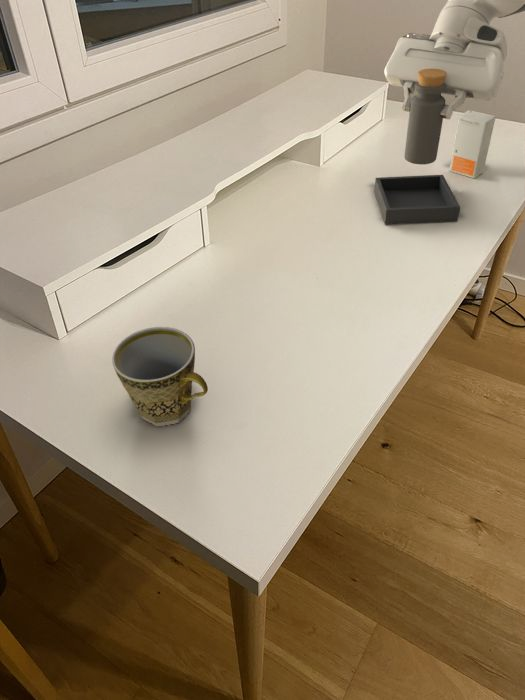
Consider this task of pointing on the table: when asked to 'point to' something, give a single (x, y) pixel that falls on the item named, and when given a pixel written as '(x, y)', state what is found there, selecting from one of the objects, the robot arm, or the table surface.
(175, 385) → the ceramic cup
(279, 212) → the table surface
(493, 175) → the table surface
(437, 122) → the bottle
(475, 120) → the cosmetic box
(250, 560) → the table surface
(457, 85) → the robot arm
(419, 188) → the tray
